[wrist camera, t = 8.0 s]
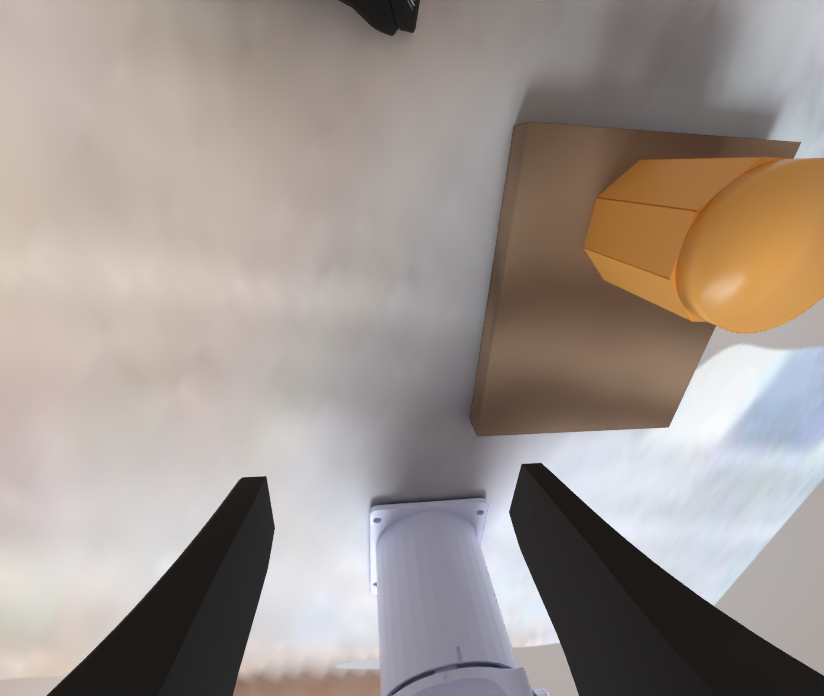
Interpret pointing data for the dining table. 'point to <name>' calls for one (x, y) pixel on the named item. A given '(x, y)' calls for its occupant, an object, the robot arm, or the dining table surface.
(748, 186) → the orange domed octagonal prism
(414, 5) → the electric trimmer
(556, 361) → the board
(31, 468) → the dining table surface
